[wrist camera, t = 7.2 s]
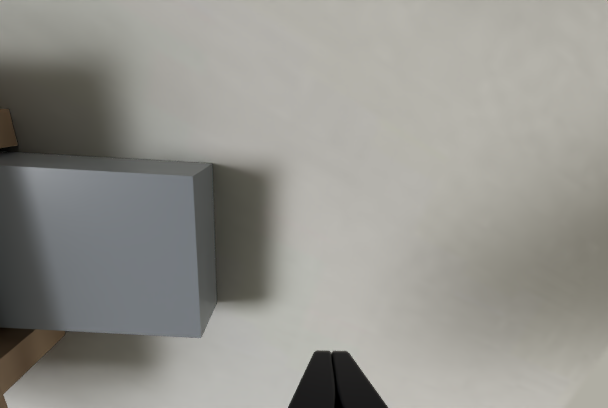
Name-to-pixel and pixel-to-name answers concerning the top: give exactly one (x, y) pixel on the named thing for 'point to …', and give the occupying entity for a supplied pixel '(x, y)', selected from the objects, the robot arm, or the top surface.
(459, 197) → the top surface
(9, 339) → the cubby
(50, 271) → the grey chamfered block
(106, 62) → the top surface
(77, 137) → the top surface
